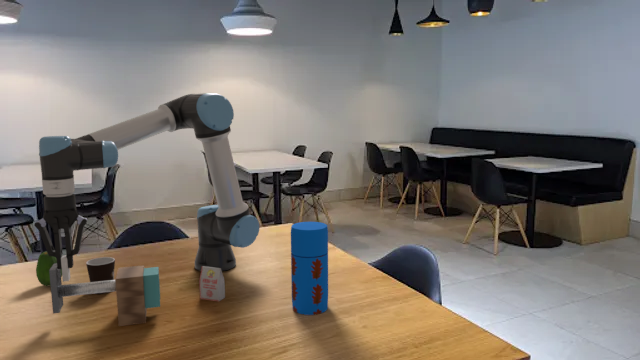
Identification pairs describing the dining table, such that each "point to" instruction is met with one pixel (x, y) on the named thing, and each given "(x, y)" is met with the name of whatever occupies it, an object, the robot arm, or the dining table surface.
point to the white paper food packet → (211, 284)
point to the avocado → (45, 268)
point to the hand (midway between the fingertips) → (66, 279)
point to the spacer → (151, 287)
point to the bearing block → (130, 295)
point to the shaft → (74, 288)
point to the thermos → (309, 267)
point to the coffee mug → (101, 269)
